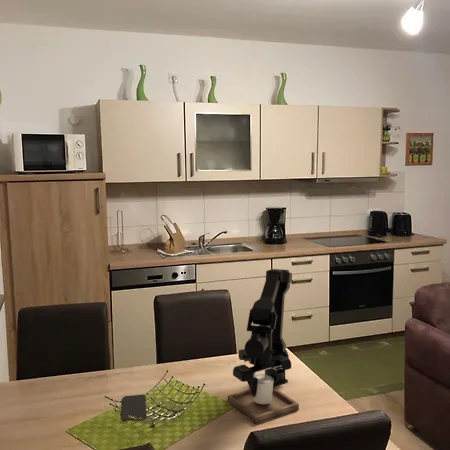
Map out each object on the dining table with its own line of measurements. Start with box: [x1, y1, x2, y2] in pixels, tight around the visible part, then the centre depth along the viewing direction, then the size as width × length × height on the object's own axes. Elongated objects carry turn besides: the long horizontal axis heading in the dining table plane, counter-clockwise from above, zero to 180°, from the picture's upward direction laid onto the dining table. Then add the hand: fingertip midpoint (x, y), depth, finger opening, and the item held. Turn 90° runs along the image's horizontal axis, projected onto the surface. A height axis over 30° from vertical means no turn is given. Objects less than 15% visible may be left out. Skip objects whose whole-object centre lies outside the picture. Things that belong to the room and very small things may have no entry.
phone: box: [121, 394, 147, 422], centre depth 149 cm, size 7×1×15 cm
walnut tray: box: [227, 388, 300, 425], centre depth 150 cm, size 16×16×2 cm
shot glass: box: [254, 373, 274, 404], centre depth 149 cm, size 7×7×7 cm
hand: (262, 393), depth 150 cm, fingers closed on shot glass, 6 cm apart
